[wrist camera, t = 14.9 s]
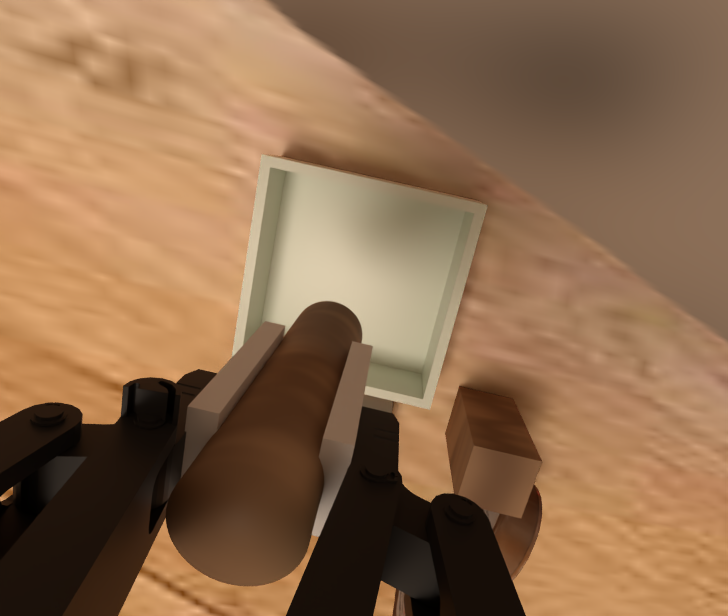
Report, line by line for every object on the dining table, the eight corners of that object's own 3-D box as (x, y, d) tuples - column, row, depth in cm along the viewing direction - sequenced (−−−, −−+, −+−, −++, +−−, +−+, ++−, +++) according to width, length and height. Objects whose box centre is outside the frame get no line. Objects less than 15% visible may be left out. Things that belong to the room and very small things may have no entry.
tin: (417, 588, 41) (420, 690, 33) (386, 570, 41) (381, 668, 33) (529, 460, 37) (563, 541, 29) (495, 439, 37) (520, 515, 29)
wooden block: (513, 398, 36) (542, 461, 28) (497, 445, 37) (521, 518, 29) (459, 386, 36) (473, 445, 28) (445, 433, 37) (455, 502, 29)
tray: (476, 200, 32) (487, 205, 28) (426, 380, 36) (429, 409, 32) (281, 156, 32) (261, 154, 28) (252, 339, 36) (230, 362, 32)
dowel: (368, 309, 21) (322, 482, 10) (354, 372, 22) (296, 600, 10) (300, 294, 21) (173, 446, 10) (289, 357, 22) (158, 567, 10)
